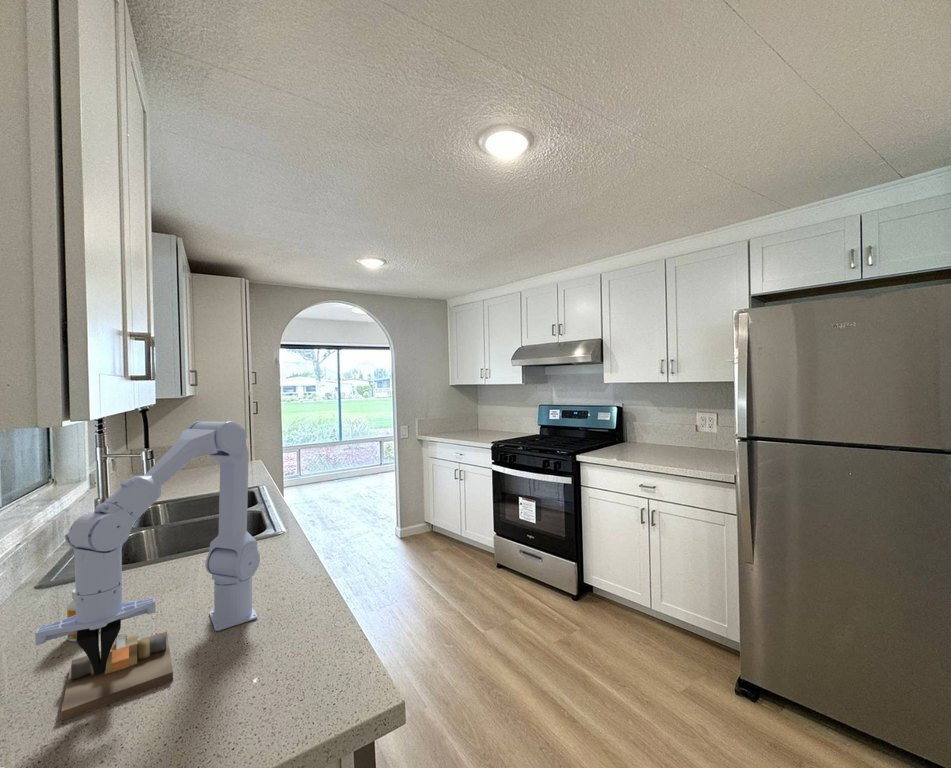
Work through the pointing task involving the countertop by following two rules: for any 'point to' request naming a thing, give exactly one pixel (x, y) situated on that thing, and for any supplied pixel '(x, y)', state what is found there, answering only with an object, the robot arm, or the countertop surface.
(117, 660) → the valve lever
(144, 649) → the valve base
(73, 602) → the supplement bottle
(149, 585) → the countertop surface
